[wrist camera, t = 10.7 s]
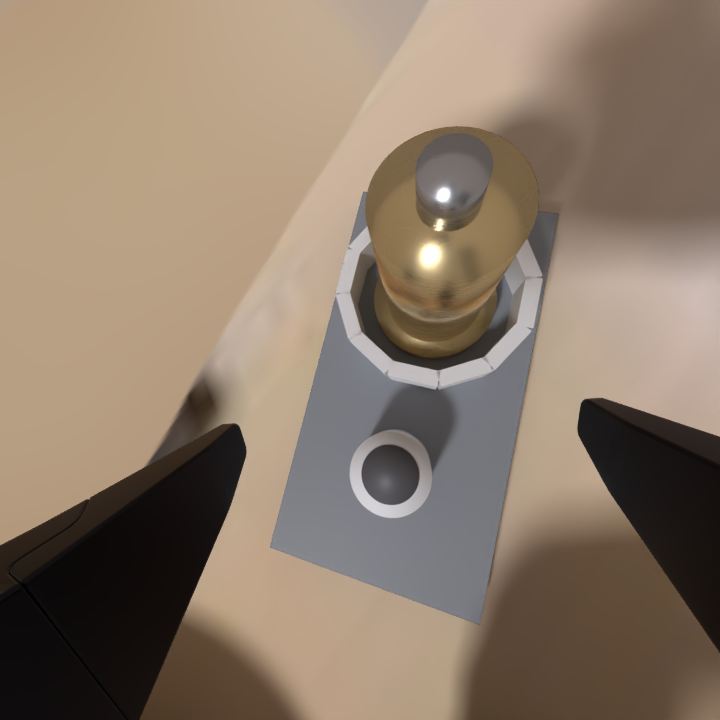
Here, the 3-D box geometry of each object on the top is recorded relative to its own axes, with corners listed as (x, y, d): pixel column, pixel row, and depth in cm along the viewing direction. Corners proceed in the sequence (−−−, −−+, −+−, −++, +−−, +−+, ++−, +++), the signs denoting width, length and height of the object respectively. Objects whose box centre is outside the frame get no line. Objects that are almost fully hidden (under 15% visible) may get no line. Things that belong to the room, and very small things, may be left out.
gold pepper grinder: (517, 300, 19) (659, 144, 8) (434, 383, 19) (460, 344, 8) (431, 229, 21) (448, 16, 10) (354, 307, 21) (281, 184, 10)
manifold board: (475, 608, 19) (492, 670, 14) (280, 538, 21) (242, 571, 17) (549, 227, 21) (583, 177, 17) (366, 205, 24) (354, 156, 19)
